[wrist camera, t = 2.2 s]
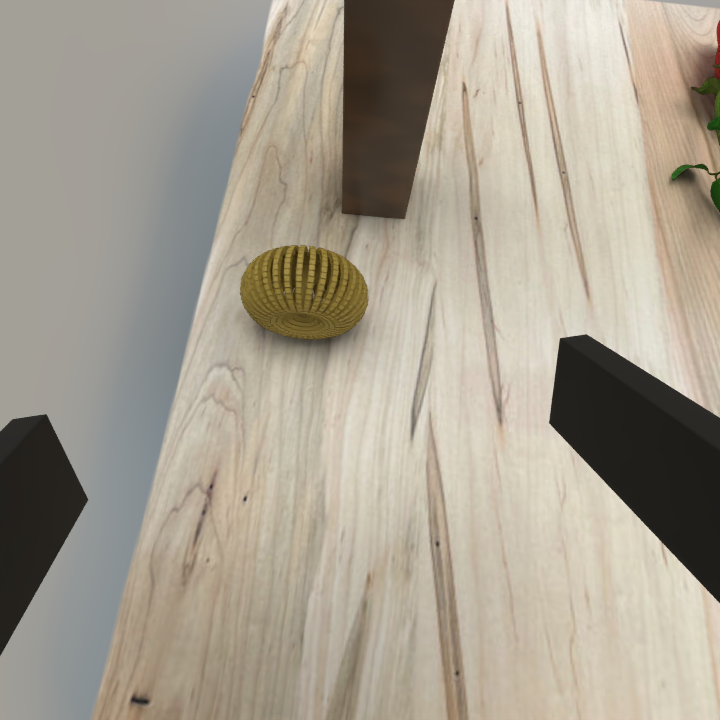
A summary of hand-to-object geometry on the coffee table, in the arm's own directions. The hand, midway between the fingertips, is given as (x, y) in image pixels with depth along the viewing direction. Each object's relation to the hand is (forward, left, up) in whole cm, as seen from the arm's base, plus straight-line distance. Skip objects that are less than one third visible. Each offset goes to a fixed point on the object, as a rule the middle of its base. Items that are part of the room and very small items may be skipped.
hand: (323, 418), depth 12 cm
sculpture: (-3, +10, -18) cm, 21 cm away
